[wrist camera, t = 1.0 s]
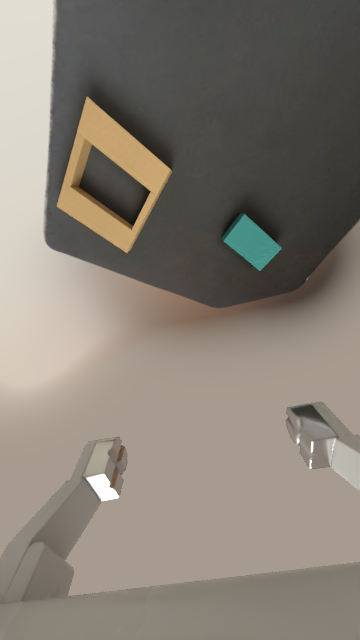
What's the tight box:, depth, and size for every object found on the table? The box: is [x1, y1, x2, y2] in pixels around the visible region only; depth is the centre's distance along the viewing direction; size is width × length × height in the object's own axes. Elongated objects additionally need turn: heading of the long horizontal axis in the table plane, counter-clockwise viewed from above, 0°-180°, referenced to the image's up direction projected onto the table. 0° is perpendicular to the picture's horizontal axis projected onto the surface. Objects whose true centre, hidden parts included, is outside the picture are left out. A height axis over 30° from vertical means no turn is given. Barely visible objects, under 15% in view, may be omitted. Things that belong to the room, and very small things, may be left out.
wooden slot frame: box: [57, 97, 172, 253], centre depth 33 cm, size 16×14×3 cm
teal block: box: [222, 213, 282, 271], centre depth 37 cm, size 6×10×3 cm, turn 55°
